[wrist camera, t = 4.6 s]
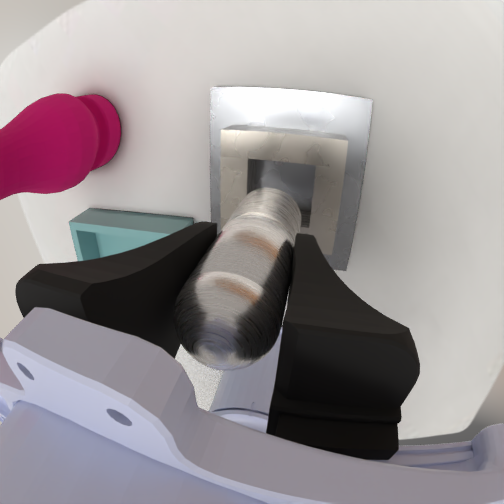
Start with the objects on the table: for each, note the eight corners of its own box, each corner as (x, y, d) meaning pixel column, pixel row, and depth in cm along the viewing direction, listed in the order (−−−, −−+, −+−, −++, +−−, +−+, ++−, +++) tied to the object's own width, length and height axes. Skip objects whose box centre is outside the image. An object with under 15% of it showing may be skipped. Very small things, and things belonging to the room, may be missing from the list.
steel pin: (298, 250, 15) (267, 400, 8) (237, 242, 16) (165, 377, 8) (304, 191, 14) (277, 321, 6) (238, 184, 14) (146, 296, 7)
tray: (200, 320, 29) (189, 342, 26) (109, 299, 31) (95, 317, 28) (193, 218, 24) (177, 235, 21) (89, 208, 25) (68, 221, 23)
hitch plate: (345, 263, 23) (347, 291, 20) (216, 246, 25) (200, 270, 22) (370, 99, 17) (380, 100, 14) (215, 87, 19) (195, 87, 16)
